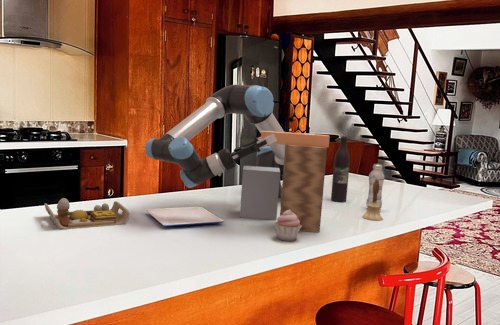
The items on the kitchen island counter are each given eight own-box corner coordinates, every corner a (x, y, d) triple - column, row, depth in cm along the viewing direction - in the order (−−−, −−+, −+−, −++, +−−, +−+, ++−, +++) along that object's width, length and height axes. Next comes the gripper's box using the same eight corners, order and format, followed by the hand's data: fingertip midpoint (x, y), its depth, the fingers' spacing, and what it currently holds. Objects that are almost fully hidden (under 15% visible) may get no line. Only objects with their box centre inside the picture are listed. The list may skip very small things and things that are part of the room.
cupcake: (293, 244, 163) (295, 214, 162) (267, 238, 168) (270, 209, 167) (305, 238, 171) (308, 209, 170) (281, 232, 176) (283, 204, 175)
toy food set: (52, 231, 162) (53, 208, 161) (43, 217, 177) (43, 196, 176) (130, 225, 175) (131, 203, 174) (115, 212, 190) (116, 192, 189)
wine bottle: (329, 200, 234) (334, 136, 230) (332, 198, 241) (338, 135, 237) (344, 203, 232) (350, 137, 227) (347, 200, 238) (353, 136, 234)
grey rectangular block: (239, 217, 194) (242, 169, 191) (241, 211, 204) (244, 165, 201) (276, 219, 193) (280, 172, 191) (275, 213, 203) (279, 168, 201)
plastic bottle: (381, 212, 218) (386, 166, 215) (365, 210, 219) (370, 164, 217) (381, 208, 224) (385, 164, 222) (365, 207, 226) (369, 162, 223)
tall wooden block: (280, 229, 180) (286, 145, 176) (279, 222, 190) (285, 142, 186) (319, 232, 180) (326, 148, 176) (316, 224, 190) (323, 145, 186)
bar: (260, 142, 179) (261, 131, 179) (260, 141, 183) (261, 130, 183) (328, 147, 179) (329, 135, 178) (327, 146, 183) (328, 134, 182)
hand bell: (383, 217, 209) (387, 179, 207) (382, 221, 201) (386, 182, 199) (363, 214, 212) (367, 176, 209) (360, 218, 204) (364, 179, 202)
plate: (163, 230, 170) (163, 224, 170) (144, 214, 190) (145, 208, 190) (224, 226, 181) (224, 220, 180) (200, 211, 200) (200, 206, 200)
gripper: (229, 165, 195) (278, 141, 193) (223, 176, 171) (280, 148, 169) (220, 148, 194) (270, 123, 192) (213, 156, 170) (270, 128, 168)
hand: (275, 135), depth 180 cm, fingers open, 13 cm apart
